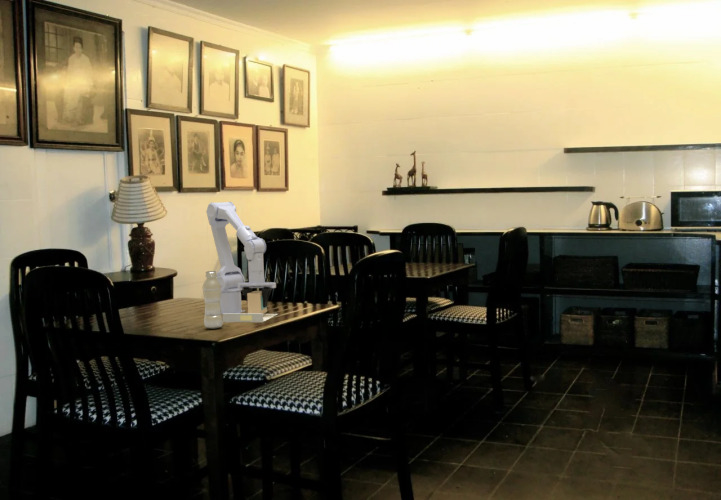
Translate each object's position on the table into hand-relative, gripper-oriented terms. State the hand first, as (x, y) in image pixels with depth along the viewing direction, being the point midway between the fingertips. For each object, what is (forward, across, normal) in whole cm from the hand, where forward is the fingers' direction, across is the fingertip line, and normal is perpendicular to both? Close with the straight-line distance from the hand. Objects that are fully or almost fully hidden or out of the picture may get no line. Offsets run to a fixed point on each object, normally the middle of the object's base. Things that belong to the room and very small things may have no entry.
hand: (257, 307), depth 276 cm
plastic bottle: (+4, -8, -23) cm, 25 cm away
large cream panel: (+4, -1, -4) cm, 6 cm away
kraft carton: (+2, 0, 0) cm, 2 cm away
